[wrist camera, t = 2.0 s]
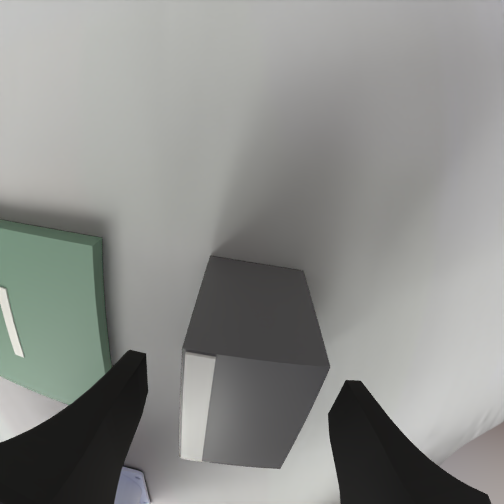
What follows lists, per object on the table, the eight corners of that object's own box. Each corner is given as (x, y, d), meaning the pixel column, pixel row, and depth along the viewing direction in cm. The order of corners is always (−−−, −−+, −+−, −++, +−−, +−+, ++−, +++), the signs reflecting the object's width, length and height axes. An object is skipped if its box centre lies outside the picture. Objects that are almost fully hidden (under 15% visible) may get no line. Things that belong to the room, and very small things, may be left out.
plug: (274, 371, 16) (280, 470, 10) (198, 360, 16) (178, 459, 10) (303, 270, 14) (330, 369, 8) (210, 255, 13) (181, 350, 8)
